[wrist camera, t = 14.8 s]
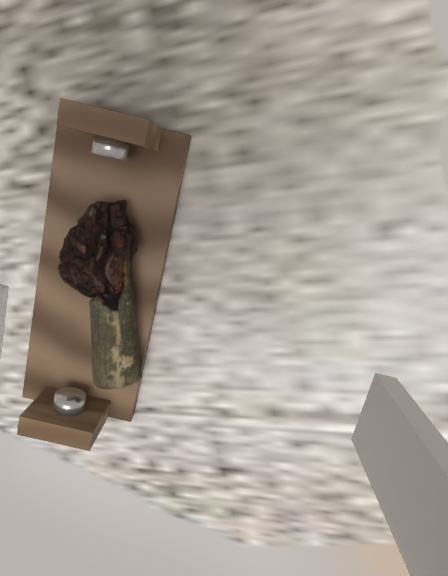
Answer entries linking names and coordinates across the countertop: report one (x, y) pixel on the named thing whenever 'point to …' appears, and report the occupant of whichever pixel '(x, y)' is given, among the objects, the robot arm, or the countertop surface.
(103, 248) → the lumpy brown club
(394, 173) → the countertop surface
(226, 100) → the countertop surface
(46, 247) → the shaft stand
